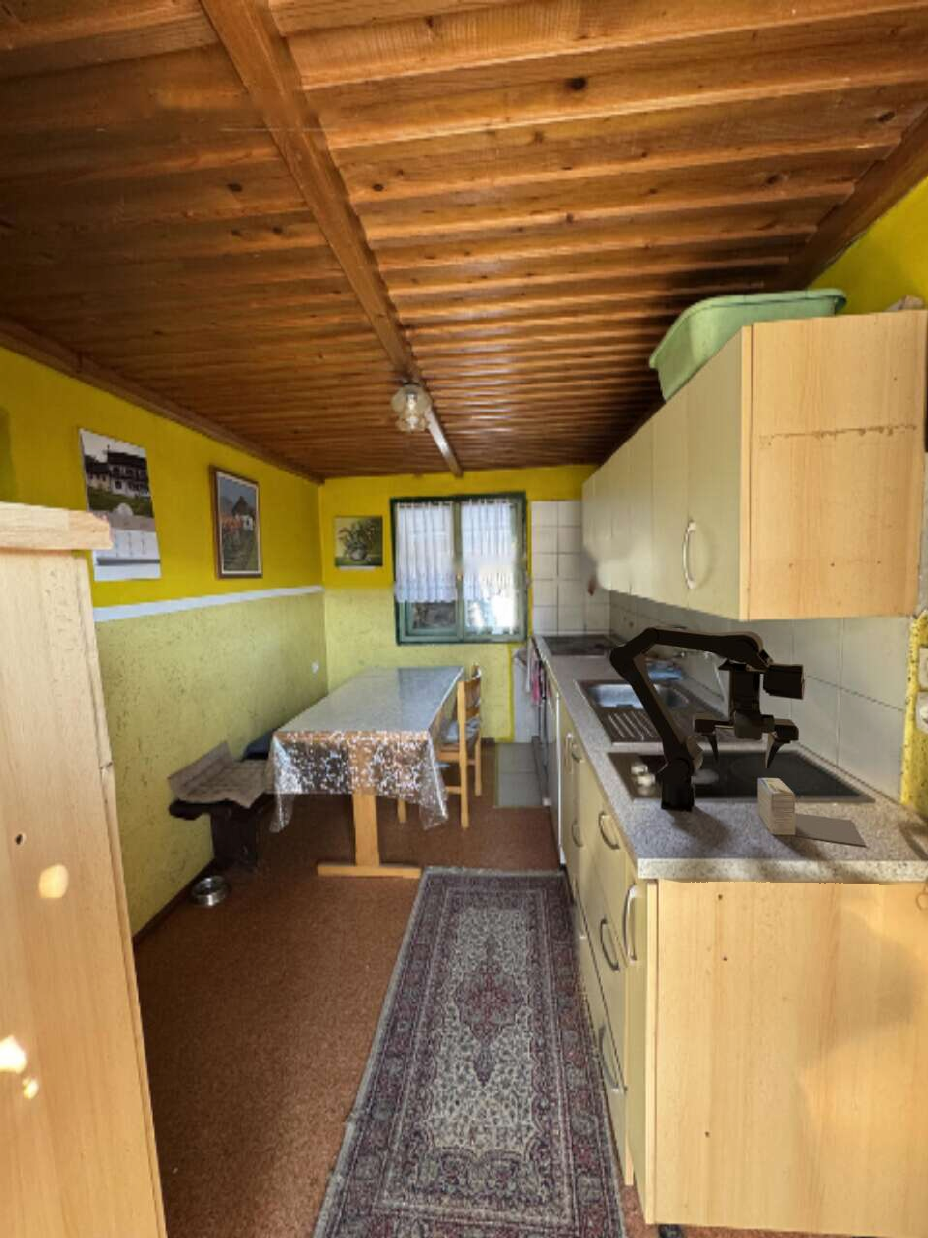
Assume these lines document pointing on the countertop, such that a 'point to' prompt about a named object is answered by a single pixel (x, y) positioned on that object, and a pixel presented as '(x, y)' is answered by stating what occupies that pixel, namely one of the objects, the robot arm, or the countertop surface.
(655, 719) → the robot arm
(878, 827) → the countertop surface
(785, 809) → the wooden block
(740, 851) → the countertop surface
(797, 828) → the mat
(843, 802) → the countertop surface
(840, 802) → the countertop surface
